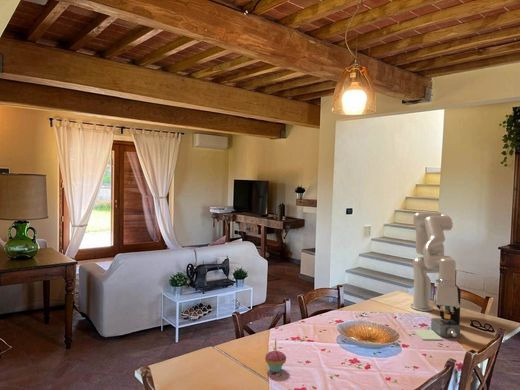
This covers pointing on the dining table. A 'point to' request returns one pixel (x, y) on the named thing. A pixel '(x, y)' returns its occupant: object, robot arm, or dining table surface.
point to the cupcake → (275, 360)
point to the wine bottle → (457, 311)
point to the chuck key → (446, 316)
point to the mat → (427, 335)
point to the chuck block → (445, 328)
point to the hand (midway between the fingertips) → (445, 318)
